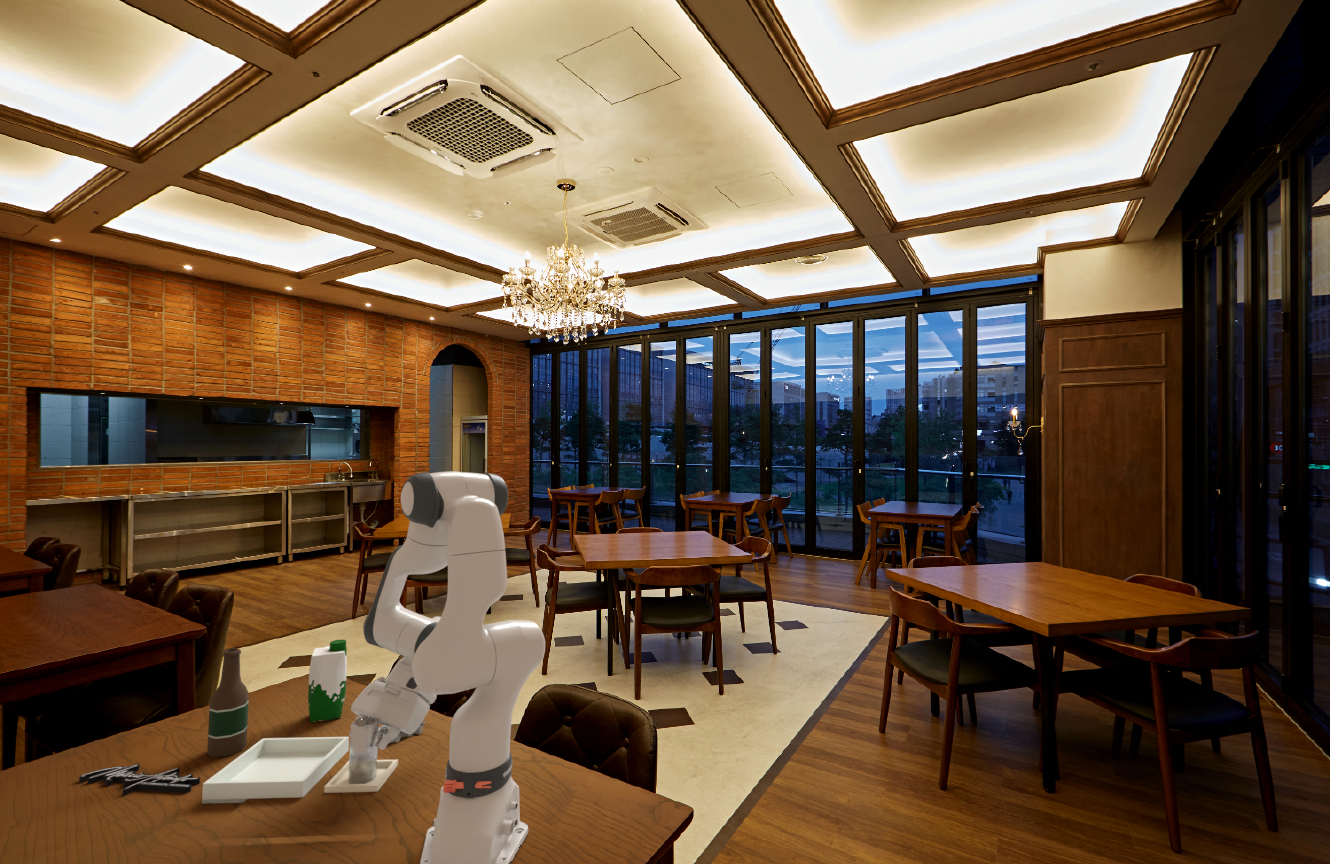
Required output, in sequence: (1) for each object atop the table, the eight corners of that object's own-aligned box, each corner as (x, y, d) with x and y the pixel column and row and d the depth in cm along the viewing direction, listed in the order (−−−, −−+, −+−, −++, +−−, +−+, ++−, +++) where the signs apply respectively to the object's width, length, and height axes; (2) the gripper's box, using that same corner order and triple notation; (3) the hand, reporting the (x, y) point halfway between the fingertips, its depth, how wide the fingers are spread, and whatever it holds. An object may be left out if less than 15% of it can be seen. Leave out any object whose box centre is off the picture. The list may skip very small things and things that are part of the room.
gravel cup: (370, 784, 127) (372, 723, 128) (343, 785, 127) (346, 723, 127) (380, 771, 132) (382, 712, 133) (355, 771, 132) (357, 713, 133)
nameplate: (58, 785, 125) (107, 762, 135) (58, 793, 125) (107, 768, 135) (177, 793, 122) (218, 768, 132) (177, 801, 122) (218, 775, 132)
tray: (377, 794, 124) (377, 785, 125) (323, 796, 124) (324, 786, 124) (397, 768, 135) (398, 759, 135) (348, 769, 135) (348, 760, 135)
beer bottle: (230, 758, 139) (235, 655, 140) (198, 757, 139) (203, 654, 141) (254, 742, 147) (258, 645, 148) (223, 742, 147) (228, 644, 148)
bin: (302, 800, 122) (303, 781, 122) (201, 803, 121) (202, 783, 121) (348, 753, 142) (348, 736, 142) (262, 755, 141) (263, 738, 141)
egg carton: (391, 749, 145) (391, 732, 145) (372, 741, 149) (372, 725, 149) (428, 732, 154) (428, 716, 154) (409, 725, 158) (410, 710, 158)
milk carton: (343, 719, 161) (346, 644, 162) (305, 725, 157) (308, 649, 158) (346, 707, 169) (348, 636, 170) (309, 712, 165) (312, 640, 166)
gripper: (369, 668, 143) (328, 725, 134) (426, 685, 133) (385, 747, 124) (385, 681, 146) (346, 737, 137) (441, 698, 136) (403, 760, 127)
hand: (365, 742), depth 130 cm, fingers open, 8 cm apart
